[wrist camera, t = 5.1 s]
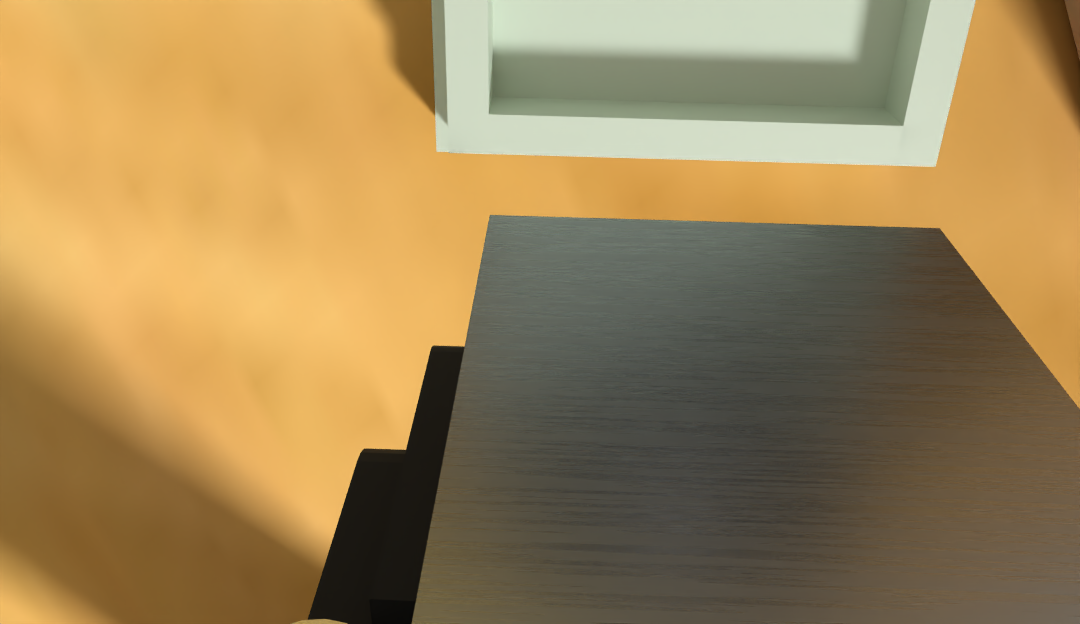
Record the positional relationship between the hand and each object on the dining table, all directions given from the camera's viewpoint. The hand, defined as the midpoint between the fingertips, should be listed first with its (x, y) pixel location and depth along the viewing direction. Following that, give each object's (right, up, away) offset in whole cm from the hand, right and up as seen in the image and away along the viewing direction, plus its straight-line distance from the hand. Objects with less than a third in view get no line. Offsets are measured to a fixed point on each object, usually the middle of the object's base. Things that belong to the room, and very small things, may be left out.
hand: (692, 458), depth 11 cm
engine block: (0, 0, 0) cm, 1 cm away
